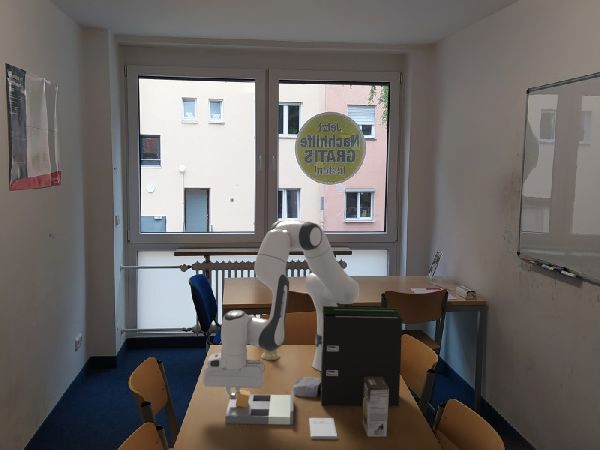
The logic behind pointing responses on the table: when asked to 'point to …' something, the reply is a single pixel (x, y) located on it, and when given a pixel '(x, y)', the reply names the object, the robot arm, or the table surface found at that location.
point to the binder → (359, 353)
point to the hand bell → (270, 355)
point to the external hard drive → (322, 428)
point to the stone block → (307, 386)
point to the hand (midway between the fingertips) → (233, 399)
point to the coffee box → (375, 406)
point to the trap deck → (262, 410)
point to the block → (242, 398)
